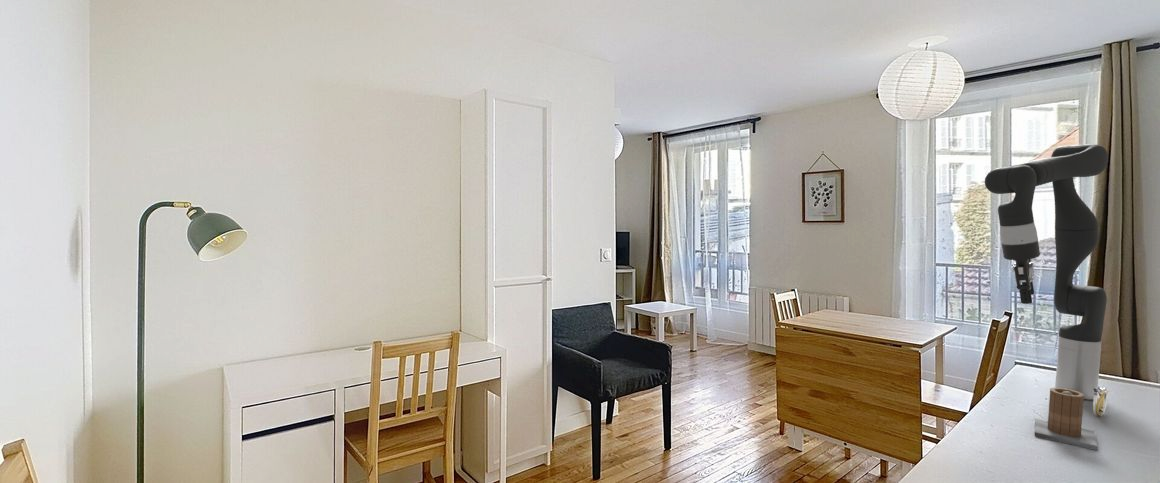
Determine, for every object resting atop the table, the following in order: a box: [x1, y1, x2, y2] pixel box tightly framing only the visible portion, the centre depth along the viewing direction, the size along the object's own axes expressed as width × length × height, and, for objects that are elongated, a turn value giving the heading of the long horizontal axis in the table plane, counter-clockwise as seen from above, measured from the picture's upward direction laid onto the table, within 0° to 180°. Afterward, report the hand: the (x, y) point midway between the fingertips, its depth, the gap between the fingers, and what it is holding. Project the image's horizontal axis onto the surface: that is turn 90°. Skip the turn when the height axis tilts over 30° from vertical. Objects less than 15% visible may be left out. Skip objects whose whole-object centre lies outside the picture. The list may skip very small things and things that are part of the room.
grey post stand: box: [1034, 391, 1099, 451], centre depth 128 cm, size 11×11×11 cm
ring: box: [1092, 385, 1110, 417], centre depth 141 cm, size 7×3×8 cm, turn 117°
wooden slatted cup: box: [1047, 387, 1085, 437], centre depth 128 cm, size 6×6×10 cm
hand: (1027, 298), depth 140 cm, fingers open, 8 cm apart
